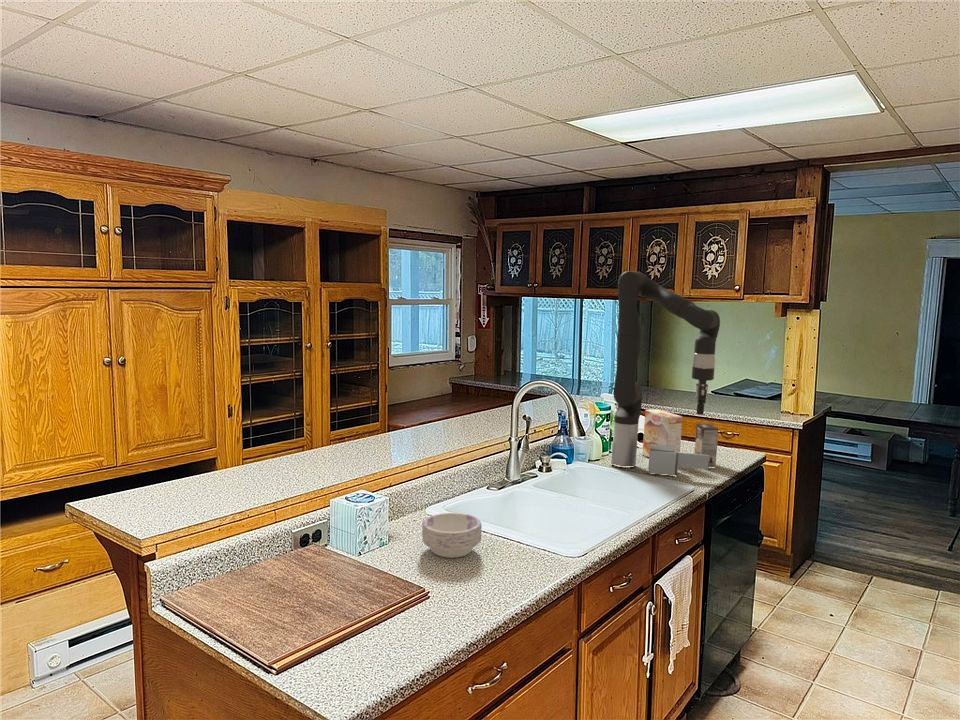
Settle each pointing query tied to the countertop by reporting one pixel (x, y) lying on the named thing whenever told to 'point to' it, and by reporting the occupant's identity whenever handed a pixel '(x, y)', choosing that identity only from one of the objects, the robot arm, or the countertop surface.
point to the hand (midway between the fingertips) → (699, 413)
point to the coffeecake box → (661, 430)
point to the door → (675, 462)
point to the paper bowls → (451, 534)
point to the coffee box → (707, 442)
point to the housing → (661, 449)
